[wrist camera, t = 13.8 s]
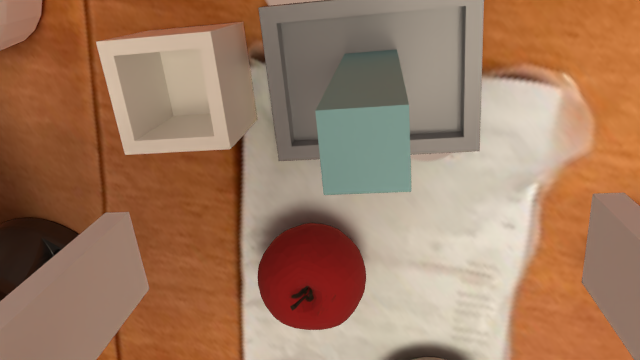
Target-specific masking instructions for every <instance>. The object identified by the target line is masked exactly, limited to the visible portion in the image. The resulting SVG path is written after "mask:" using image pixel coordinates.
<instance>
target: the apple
mask: <svg viewBox="0 0 640 360" xmlns="http://www.w3.org/2000/svg"><path fill="white" fill-rule="evenodd" d="M365 283H366V271H365V265H364V262H363V259H362V256H361V254H360V251H359V249H358V248H357V246H356V245H355V244H354V243H353V242H352V241H351V239H350V238H348V237H347V236H346V235H345V234H344V233H342V232H341V231H340V230H339V229H336V228H334V227H331V226H328V225H324V224H316V223H308V224H303V225H300V226H297V227H294V228H291V229H289V230H286V231H284V232H283V233H281V234H280V235H279V236H278V237H276V238H275V239H274V241H273V242H272V243H271V244H270V246H269V247H268V249H267V250H266V251H265V253H264V254H263V256H262V259H261V261H260V264H259V268H258V286H259V290H260V294H261V297H262V299H263V301H264V303H265V305H266V307H267V308H268V310H269V311H270V312H271V313H272V315H273V316H274V317H275V318H276V319H277V320H279V321H280V322H282V323H283V324H286V325H288V326H291V327H294V328H299V329H306V330H322V329H328V328H332V327H335V326H338V325H340V324H342V323H343V322H344V321H346V320H347V319H348V318H349V317H350V315H351V314H352V313H353V312H354V310H355V309H356V307H357V306H358V304H359V302H360V300H361V298H362V296H363V293H364V290H365Z"/></svg>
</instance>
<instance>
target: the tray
mask: <svg viewBox="0 0 640 360" xmlns="http://www.w3.org/2000/svg"><path fill="white" fill-rule="evenodd" d="M483 14H484V0H324V1H314V2H304V3H293V4H284V5H273V6H264V7H259V16H260V23H261V31H262V38H263V46H264V53H265V61H266V68H267V76H268V83H269V91H270V98H271V106H272V113H273V121H274V128H275V136H276V143H277V151H278V158H279V161H291V160H311V159H320V153H319V143H318V133H317V122H316V112H315V110H316V108H317V106H318V105H319V103H320V101H321V99H322V97H323V95H324V93H325V91H326V89H327V87H328V85H329V83H330V81H331V79H332V77H333V76H334V74H335V72H336V70H337V68H338V66H339V64H340V62H341V60H342V58H343V56H344V54H348V53H360V52H372V51H385V50H397V52H398V57H399V61H400V66H401V70H402V75H403V79H404V84H405V89H406V93H407V98H408V102H409V122H410V155H412V154H431V153H452V152H472V151H479V150H480V116H481V82H482V48H483Z"/></svg>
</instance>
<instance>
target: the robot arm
mask: <svg viewBox="0 0 640 360" xmlns="http://www.w3.org/2000/svg"><path fill="white" fill-rule="evenodd" d="M582 283H583V285H584V286H585V288H586V289H587V291H588V292H589V294H590V295H591V297H592V298H593V299H594V301H595V302H596V304H597V305H598V307H599V308H600V310H601V311H602V313H603V314H604V316H605V317H606V319H607V320H608V322H609V323H610V325H611V326H612V327H613V329H614V330H615V332H616V333H617V335H618V336H619V338H620V339H621V341H622V342H623V344H624V345H625V347H626V348H627V350H628V351H629V352H630V354H631V355H632V357H633V358H634V360H640V206H639V205H638V204H637V203H635V202H634V201H633V200H632V199H631V198H630V197H628V196H627V195H626V194H625V193H604V194H593V197H592V205H591V213H590V221H589V229H588V237H587V245H586V253H585V261H584V269H583V277H582ZM148 290H149V286H148V282H147V278H146V274H145V270H144V267H143V263H142V259H141V255H140V252H139V248H138V244H137V240H136V237H135V233H134V229H133V225H132V221H131V218H130V214H129V212H112V213H105V214H103V215H102V216H101V217H100V218H99V219H97V220H96V221H95V222H94V223H93V224H91V225H90V226H89V227H88V228H87V229H86V230H84V231H83V232H82V233H81V234H80V235H78V234H76V233H75V232H73V231H72V230H70V229H68V228H66V227H64V226H62V225H59V224H57V223H54V222H51V221H47V220H43V219H37V218H18V219H13V220H9V221H6V222H4V223H2V224H0V360H96V359H97V358H98V357H99V355H100V354H101V353H102V351H103V350H104V349H105V347H106V346H107V345H108V343H109V342H110V341H111V339H112V338H113V337H114V335H115V334H116V333H117V331H118V330H119V329H120V327H121V326H122V325H123V323H124V322H125V321H126V319H127V318H128V317H129V315H130V314H131V313H132V311H133V310H134V309H135V307H136V306H137V305H138V303H139V302H140V301H141V299H142V298H143V297H144V295H145V294H146V293H147V291H148Z"/></svg>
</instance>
